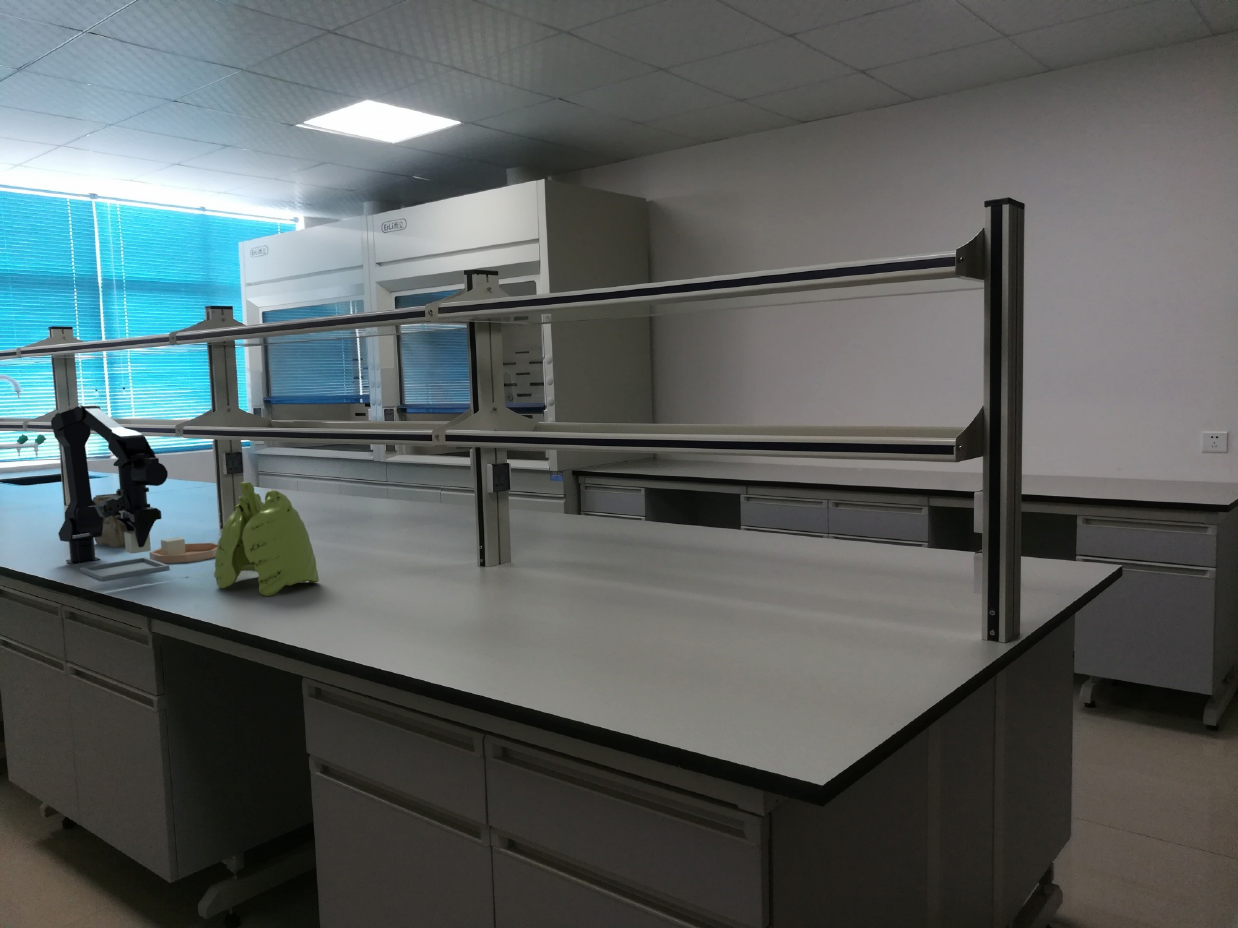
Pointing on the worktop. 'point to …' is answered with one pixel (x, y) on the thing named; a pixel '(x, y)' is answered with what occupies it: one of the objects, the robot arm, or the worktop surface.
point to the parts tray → (124, 568)
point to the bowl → (187, 553)
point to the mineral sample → (111, 527)
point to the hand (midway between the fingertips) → (137, 545)
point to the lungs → (265, 543)
